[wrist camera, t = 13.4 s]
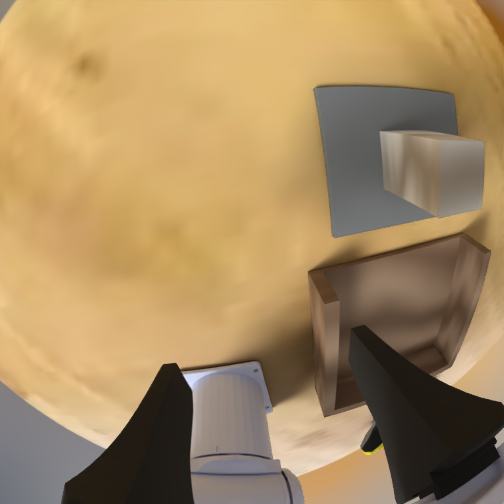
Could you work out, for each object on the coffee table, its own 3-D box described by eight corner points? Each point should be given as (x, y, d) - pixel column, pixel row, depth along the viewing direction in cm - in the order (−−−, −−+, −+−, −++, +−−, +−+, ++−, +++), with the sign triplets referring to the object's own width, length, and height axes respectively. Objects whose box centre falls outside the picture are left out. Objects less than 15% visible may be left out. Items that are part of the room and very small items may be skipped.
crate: (435, 345, 26) (451, 366, 23) (315, 388, 26) (324, 417, 23) (463, 232, 20) (491, 251, 16) (308, 271, 20) (324, 304, 16)
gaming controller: (350, 433, 34) (402, 416, 35) (360, 460, 29) (413, 440, 30) (376, 380, 28) (437, 360, 28) (393, 415, 23) (455, 388, 23)
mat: (452, 210, 19) (456, 212, 18) (331, 235, 19) (334, 238, 18) (449, 94, 14) (453, 94, 14) (313, 88, 14) (316, 87, 14)
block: (425, 183, 17) (481, 208, 11) (383, 188, 17) (438, 218, 12) (423, 130, 15) (484, 141, 10) (379, 131, 15) (439, 140, 10)
